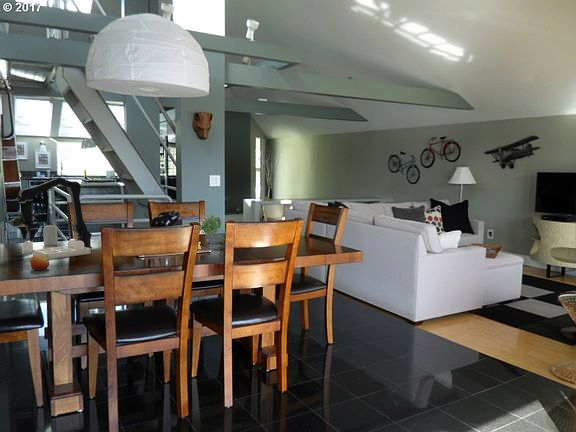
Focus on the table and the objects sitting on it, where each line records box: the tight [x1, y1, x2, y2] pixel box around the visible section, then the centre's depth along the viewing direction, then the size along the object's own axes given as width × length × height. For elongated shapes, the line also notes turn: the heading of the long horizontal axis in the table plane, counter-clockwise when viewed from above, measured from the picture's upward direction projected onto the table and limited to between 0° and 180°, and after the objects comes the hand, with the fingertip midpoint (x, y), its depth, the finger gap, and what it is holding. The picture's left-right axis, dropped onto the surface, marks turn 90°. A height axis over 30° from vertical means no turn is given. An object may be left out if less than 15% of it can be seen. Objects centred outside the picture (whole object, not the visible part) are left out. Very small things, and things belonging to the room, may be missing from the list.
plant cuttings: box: [199, 214, 226, 244], centre depth 300 cm, size 35×17×22 cm
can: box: [42, 224, 58, 247], centre depth 279 cm, size 8×8×12 cm
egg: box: [21, 240, 34, 255], centre depth 252 cm, size 5×5×7 cm
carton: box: [32, 238, 92, 260], centre depth 250 cm, size 24×16×8 cm
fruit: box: [30, 255, 51, 272], centre depth 213 cm, size 8×8×8 cm
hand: (27, 240), depth 252 cm, fingers open, 9 cm apart
